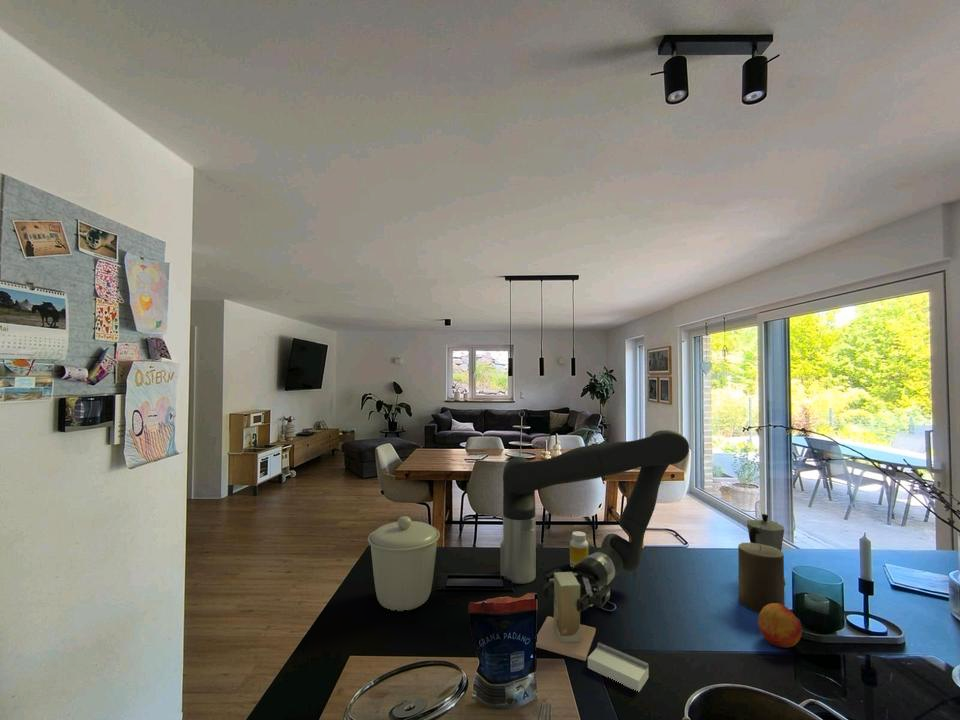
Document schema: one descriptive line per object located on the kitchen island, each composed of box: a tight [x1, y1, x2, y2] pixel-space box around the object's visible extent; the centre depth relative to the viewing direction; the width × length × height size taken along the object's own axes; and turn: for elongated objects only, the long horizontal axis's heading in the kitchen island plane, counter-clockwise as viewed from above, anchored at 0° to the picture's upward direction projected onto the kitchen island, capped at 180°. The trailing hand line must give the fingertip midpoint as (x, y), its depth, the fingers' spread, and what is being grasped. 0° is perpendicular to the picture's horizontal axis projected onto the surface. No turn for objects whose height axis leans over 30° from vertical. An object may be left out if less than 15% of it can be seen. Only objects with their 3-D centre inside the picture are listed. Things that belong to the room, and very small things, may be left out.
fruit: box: [757, 603, 803, 649], centre depth 92 cm, size 8×8×8 cm
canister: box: [367, 515, 441, 612], centre depth 109 cm, size 18×18×21 cm
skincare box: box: [553, 571, 581, 643], centre depth 93 cm, size 6×4×12 cm
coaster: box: [535, 615, 596, 662], centre depth 93 cm, size 11×11×1 cm
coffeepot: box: [746, 513, 786, 585], centre depth 121 cm, size 15×9×18 cm, turn 125°
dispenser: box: [587, 642, 650, 693], centre depth 83 cm, size 10×5×3 cm, turn 50°
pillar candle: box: [737, 542, 786, 614], centre depth 108 cm, size 10×10×15 cm
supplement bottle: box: [569, 531, 589, 569], centre depth 129 cm, size 5×5×10 cm
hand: (560, 599), depth 92 cm, fingers open, 8 cm apart
